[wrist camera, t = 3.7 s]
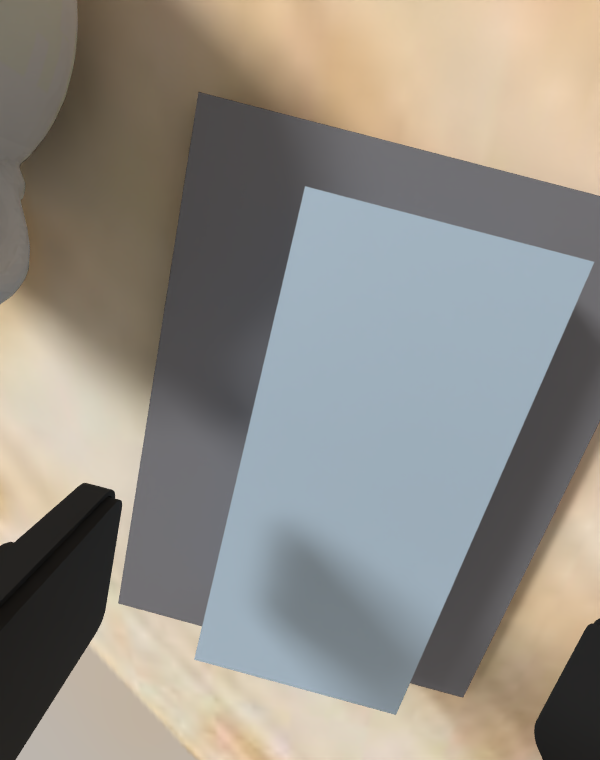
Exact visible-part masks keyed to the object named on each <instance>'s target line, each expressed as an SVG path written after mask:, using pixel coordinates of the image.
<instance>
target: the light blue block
mask: <svg viewBox="0 0 600 760" xmlns="http://www.w3.org/2000/svg"><path fill="white" fill-rule="evenodd" d="M593 264H594V262H593V261H589V260H585V259H581V258H578V257H574V256H570V255H566V254H562V253H558V252H555V251H551V250H547V249H543V248H539V247H536V246H532V245H528V244H524V243H520V242H516V241H513V240H509V239H505V238H501V237H497V236H493V235H490V234H486V233H482V232H478V231H474V230H470V229H467V228H463V227H459V226H455V225H451V224H448V223H444V222H440V221H436V220H432V219H428V218H425V217H421V216H417V215H413V214H409V213H405V212H402V211H398V210H394V209H390V208H386V207H382V206H379V205H375V204H371V203H367V202H363V201H360V200H356V199H352V198H348V197H344V196H340V195H337V194H333V193H329V192H325V191H321V190H317V189H314V188H310V187H306V186H305V189H304V193H303V197H302V202H301V206H300V210H299V215H298V219H297V223H296V227H295V232H294V236H293V240H292V244H291V249H290V253H289V257H288V262H287V266H286V270H285V274H284V279H283V283H282V287H281V291H280V296H279V300H278V304H277V309H276V313H275V317H274V321H273V326H272V330H271V334H270V339H269V343H268V347H267V351H266V356H265V360H264V364H263V368H262V373H261V377H260V381H259V386H258V390H257V394H256V398H255V403H254V407H253V411H252V415H251V420H250V424H249V428H248V433H247V437H246V441H245V445H244V450H243V454H242V458H241V462H240V467H239V471H238V475H237V480H236V484H235V488H234V492H233V497H232V501H231V505H230V510H229V514H228V518H227V522H226V527H225V531H224V535H223V539H222V544H221V548H220V552H219V557H218V561H217V565H216V569H215V574H214V578H213V582H212V586H211V591H210V595H209V599H208V604H207V608H206V612H205V616H204V621H203V625H202V629H201V634H200V638H199V642H198V646H197V651H196V655H195V660H198V661H202V662H205V663H209V664H213V665H216V666H220V667H224V668H227V669H231V670H235V671H238V672H242V673H246V674H249V675H253V676H256V677H260V678H264V679H267V680H271V681H275V682H278V683H282V684H286V685H289V686H293V687H296V688H300V689H304V690H307V691H311V692H315V693H318V694H322V695H326V696H329V697H333V698H337V699H340V700H344V701H347V702H351V703H355V704H358V705H362V706H366V707H369V708H373V709H377V710H380V711H384V712H388V713H391V714H395V715H396V713H397V711H398V709H399V707H400V704H401V702H402V700H403V697H404V695H405V693H406V691H407V688H408V686H409V684H410V681H411V679H412V677H413V675H414V672H415V670H416V668H417V665H418V663H419V661H420V659H421V656H422V654H423V652H424V650H425V647H426V645H427V643H428V640H429V638H430V636H431V634H432V631H433V629H434V627H435V624H436V622H437V620H438V618H439V615H440V613H441V611H442V608H443V606H444V604H445V602H446V599H447V597H448V595H449V593H450V590H451V588H452V586H453V583H454V581H455V579H456V577H457V574H458V572H459V570H460V567H461V565H462V563H463V561H464V558H465V556H466V554H467V551H468V549H469V547H470V545H471V542H472V540H473V538H474V535H475V533H476V531H477V529H478V526H479V524H480V522H481V520H482V517H483V515H484V513H485V510H486V508H487V506H488V504H489V501H490V499H491V497H492V494H493V492H494V490H495V488H496V485H497V483H498V481H499V478H500V476H501V474H502V472H503V469H504V467H505V465H506V463H507V460H508V458H509V456H510V453H511V451H512V449H513V447H514V444H515V442H516V440H517V437H518V435H519V433H520V431H521V428H522V426H523V424H524V421H525V419H526V417H527V415H528V412H529V410H530V408H531V406H532V403H533V401H534V399H535V396H536V394H537V392H538V390H539V387H540V385H541V383H542V380H543V378H544V376H545V374H546V371H547V369H548V367H549V364H550V362H551V360H552V358H553V355H554V353H555V351H556V349H557V346H558V344H559V342H560V339H561V337H562V335H563V333H564V330H565V328H566V326H567V323H568V321H569V319H570V317H571V314H572V312H573V310H574V307H575V305H576V303H577V301H578V298H579V296H580V294H581V291H582V289H583V287H584V285H585V282H586V280H587V278H588V276H589V273H590V271H591V269H592V266H593Z"/></svg>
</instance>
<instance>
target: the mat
mask: <svg viewBox="0 0 600 760" xmlns="http://www.w3.org/2000/svg"><path fill="white" fill-rule="evenodd" d="M305 186H306V187H310V188H314V189H317V190H321V191H325V192H329V193H333V194H337V195H340V196H344V197H348V198H352V199H356V200H360V201H363V202H367V203H371V204H375V205H379V206H382V207H386V208H390V209H394V210H398V211H402V212H405V213H409V214H413V215H417V216H421V217H425V218H428V219H432V220H436V221H440V222H444V223H448V224H451V225H455V226H459V227H463V228H467V229H470V230H474V231H478V232H482V233H486V234H490V235H493V236H497V237H501V238H505V239H509V240H513V241H516V242H520V243H524V244H528V245H532V246H536V247H539V248H543V249H547V250H551V251H555V252H558V253H562V254H566V255H570V256H574V257H578V258H581V259H585V260H589V261H593V262H594V264H593V266H592V269H591V271H590V273H589V276H588V278H587V280H586V282H585V285H584V287H583V289H582V291H581V294H580V296H579V298H578V301H577V303H576V305H575V307H574V310H573V312H572V314H571V317H570V319H569V321H568V323H567V326H566V328H565V330H564V333H563V335H562V337H561V339H560V342H559V344H558V346H557V349H556V351H555V353H554V355H553V358H552V360H551V362H550V364H549V367H548V369H547V371H546V374H545V376H544V378H543V380H542V383H541V385H540V387H539V390H538V392H537V394H536V396H535V399H534V401H533V403H532V406H531V408H530V410H529V412H528V415H527V417H526V419H525V421H524V424H523V426H522V428H521V431H520V433H519V435H518V437H517V440H516V442H515V444H514V447H513V449H512V451H511V453H510V456H509V458H508V460H507V463H506V465H505V467H504V469H503V472H502V474H501V476H500V478H499V481H498V483H497V485H496V488H495V490H494V492H493V494H492V497H491V499H490V501H489V504H488V506H487V508H486V510H485V513H484V515H483V517H482V520H481V522H480V524H479V526H478V529H477V531H476V533H475V535H474V538H473V540H472V542H471V545H470V547H469V549H468V551H467V554H466V556H465V558H464V561H463V563H462V565H461V567H460V570H459V572H458V574H457V577H456V579H455V581H454V583H453V586H452V588H451V590H450V593H449V595H448V597H447V599H446V602H445V604H444V606H443V608H442V611H441V613H440V615H439V618H438V620H437V622H436V624H435V627H434V629H433V631H432V634H431V636H430V638H429V640H428V643H427V645H426V647H425V650H424V652H423V654H422V656H421V659H420V661H419V663H418V665H417V668H416V670H415V672H414V675H413V677H412V679H411V681H410V683H412V684H415V685H419V686H422V687H426V688H430V689H433V690H437V691H441V692H444V693H448V694H452V695H455V696H459V697H464V695H465V693H466V691H467V689H468V687H469V685H470V683H471V681H472V678H473V676H474V674H475V672H476V670H477V668H478V666H479V664H480V662H481V660H482V658H483V656H484V654H485V652H486V650H487V648H488V646H489V644H490V642H491V640H492V638H493V636H494V634H495V632H496V630H497V628H498V626H499V624H500V622H501V620H502V618H503V616H504V614H505V612H506V610H507V608H508V606H509V604H510V602H511V600H512V598H513V596H514V594H515V592H516V590H517V587H518V585H519V583H520V581H521V579H522V577H523V575H524V573H525V571H526V569H527V567H528V565H529V563H530V561H531V559H532V557H533V555H534V553H535V551H536V549H537V547H538V545H539V543H540V541H541V539H542V537H543V535H544V533H545V531H546V529H547V527H548V525H549V523H550V521H551V519H552V517H553V515H554V513H555V511H556V509H557V507H558V505H559V503H560V501H561V499H562V496H563V494H564V492H565V490H566V488H567V486H568V484H569V482H570V480H571V478H572V476H573V474H574V472H575V470H576V468H577V466H578V464H579V462H580V460H581V458H582V456H583V454H584V452H585V450H586V448H587V446H588V444H589V442H590V440H591V438H592V436H593V434H594V432H595V430H596V428H597V426H598V424H599V422H600V196H598V195H594V194H590V193H586V192H582V191H578V190H574V189H571V188H567V187H563V186H559V185H555V184H551V183H547V182H544V181H540V180H536V179H532V178H528V177H524V176H521V175H517V174H513V173H509V172H505V171H501V170H497V169H494V168H490V167H486V166H482V165H478V164H474V163H470V162H467V161H463V160H459V159H455V158H451V157H447V156H443V155H440V154H436V153H432V152H428V151H424V150H420V149H416V148H413V147H409V146H405V145H401V144H397V143H393V142H390V141H386V140H382V139H378V138H374V137H370V136H366V135H363V134H359V133H355V132H351V131H347V130H343V129H339V128H336V127H332V126H328V125H324V124H320V123H316V122H312V121H309V120H305V119H301V118H297V117H293V116H289V115H285V114H282V113H278V112H274V111H270V110H266V109H262V108H259V107H255V106H251V105H247V104H243V103H239V102H235V101H232V100H228V99H224V98H220V97H216V96H212V95H208V94H205V93H201V92H199V93H198V99H197V105H196V112H195V118H194V125H193V131H192V137H191V144H190V150H189V156H188V163H187V169H186V176H185V182H184V188H183V195H182V201H181V207H180V214H179V220H178V226H177V233H176V239H175V246H174V252H173V258H172V265H171V271H170V277H169V284H168V290H167V297H166V303H165V309H164V316H163V322H162V328H161V335H160V341H159V348H158V354H157V360H156V367H155V373H154V379H153V386H152V392H151V399H150V405H149V411H148V418H147V424H146V430H145V437H144V443H143V450H142V456H141V462H140V469H139V475H138V481H137V488H136V494H135V500H134V507H133V513H132V520H131V526H130V532H129V539H128V545H127V551H126V558H125V564H124V571H123V577H122V583H121V590H120V596H119V602H118V603H119V604H123V605H126V606H130V607H134V608H137V609H141V610H145V611H148V612H152V613H156V614H159V615H163V616H167V617H170V618H174V619H178V620H181V621H185V622H189V623H192V624H196V625H200V626H202V625H203V621H204V616H205V612H206V608H207V604H208V599H209V595H210V591H211V586H212V582H213V578H214V574H215V569H216V565H217V561H218V557H219V552H220V548H221V544H222V539H223V535H224V531H225V527H226V522H227V518H228V514H229V510H230V505H231V501H232V497H233V492H234V488H235V484H236V480H237V475H238V471H239V467H240V462H241V458H242V454H243V450H244V445H245V441H246V437H247V433H248V428H249V424H250V420H251V415H252V411H253V407H254V403H255V398H256V394H257V390H258V386H259V381H260V377H261V373H262V368H263V364H264V360H265V356H266V351H267V347H268V343H269V339H270V334H271V330H272V326H273V321H274V317H275V313H276V309H277V304H278V300H279V296H280V291H281V287H282V283H283V279H284V274H285V270H286V266H287V262H288V257H289V253H290V249H291V244H292V240H293V236H294V232H295V227H296V223H297V219H298V215H299V210H300V206H301V202H302V197H303V193H304V189H305Z"/></svg>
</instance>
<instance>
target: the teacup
mask: <svg viewBox="0 0 600 760" xmlns="http://www.w3.org/2000/svg"><path fill="white" fill-rule="evenodd" d="M77 31H78V10H77V0H0V304H1V303H3V302H4V301H5V300H7V299H8V298H10V297H11V296H12V295H13V294H14V293H15V292H16V291H17V289H18V288H19V287H20V286H21V284H22V283H23V281H24V280H25V277H26V275H27V272H28V270H29V256H30V244H29V236H28V229H27V225H26V221H25V216H24V212H23V208H22V204H21V199H22V198H23V196H24V192H25V181H24V178H23V176H22V173H21V170H20V164H21V163H22V162H23V161H24V160H25V159H27V158H28V157H29V156H30V155H31V153H32V152H33V151H34V150H35V148H36V147H37V146H38V145H39V144H40V142H41V141H42V140H43V139H44V138H45V136H46V134H47V133H48V131H49V130H50V128H51V126H52V125H53V123H54V121H55V119H56V117H57V115H58V113H59V110H60V108H61V106H62V104H63V102H64V100H65V97H66V94H67V90H68V86H69V82H70V79H71V75H72V71H73V66H74V61H75V56H76V44H77Z"/></svg>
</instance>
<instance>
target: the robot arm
mask: <svg viewBox="0 0 600 760" xmlns="http://www.w3.org/2000/svg"><path fill="white" fill-rule="evenodd" d="M121 510H122V501H121V500H118V499H115V492H114V491H113V490H111V489H107V488H103V487H99V486H95V485H92V484H88V483H83V484H81V485H80V486H78V487H77V488H76V489H75V490H74V491H73V492H72V493H70V494H69V495H68V496H67V497H66V498H65V499H64V500H62V501H61V502H60V503H59V504H58V505H57V506H56V507H54V508H53V509H52V510H51V511H50V512H49V513H48V514H46V515H45V516H44V517H43V518H42V519H41V520H40V521H38V522H37V523H36V524H35V525H34V526H33V527H32V528H30V529H29V530H28V531H27V532H26V533H25V534H24V535H22V536H21V537H20V538H19V539H18V540H17V541H16V542H14V543H13V542H8V543H5V544H3V545H1V546H0V760H16V758H17V756H18V755H19V753H20V752H21V750H22V748H23V747H24V745H25V744H26V742H27V741H28V739H29V738H30V736H31V734H32V733H33V731H34V730H35V728H36V727H37V725H38V723H39V722H40V720H41V719H42V717H43V716H44V714H45V712H46V711H47V709H48V708H49V706H50V704H51V703H52V701H53V700H54V698H55V697H56V695H57V693H58V692H59V690H60V689H61V687H62V686H63V684H64V682H65V681H66V679H67V678H68V676H69V674H70V673H71V671H72V670H73V668H74V667H75V665H76V664H77V662H78V660H79V659H80V657H81V655H82V654H83V653H84V651H85V649H86V648H87V646H88V645H89V643H90V642H91V640H92V638H93V637H94V635H95V634H96V632H97V630H98V628H99V626H100V624H101V622H102V619H103V616H104V613H105V609H106V603H107V596H108V590H109V584H110V578H111V572H112V565H113V559H114V553H115V547H116V541H117V534H118V528H119V522H120V516H121ZM534 734H535V741H536V744H537V747H538V749H539V752H540V754H541V756H542V759H543V760H600V619H598V620H596V621H595V622H594V624H590V625H588V626H587V628H586V629H585V631H584V633H583V634H582V636H581V638H580V640H579V642H578V644H577V646H576V648H575V649H574V651H573V653H572V655H571V657H570V659H569V661H568V663H567V664H566V666H565V668H564V670H563V672H562V674H561V676H560V678H559V679H558V681H557V683H556V685H555V687H554V689H553V691H552V693H551V694H550V696H549V698H548V700H547V702H546V704H545V706H544V708H543V709H542V711H541V713H540V715H539V717H538V719H537V721H536V723H535V729H534Z"/></svg>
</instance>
